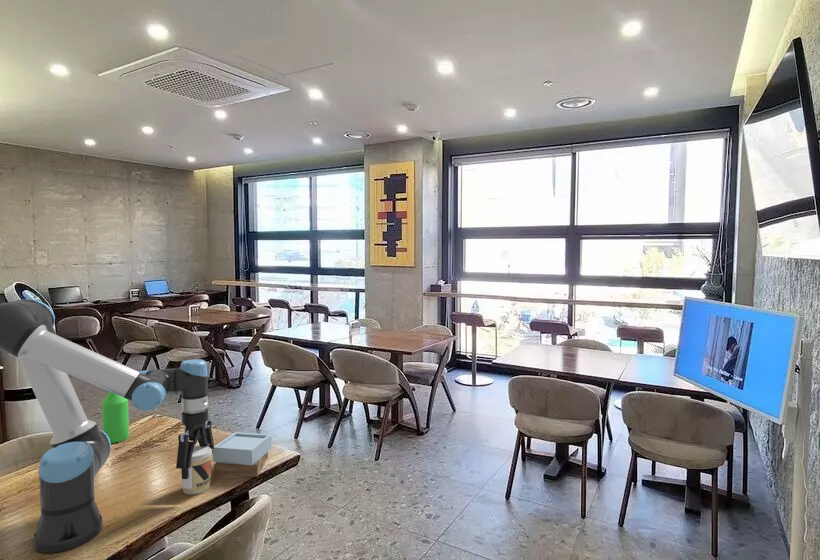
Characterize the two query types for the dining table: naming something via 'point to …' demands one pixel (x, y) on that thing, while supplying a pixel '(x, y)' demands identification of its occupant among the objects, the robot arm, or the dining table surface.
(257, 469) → the block bottom
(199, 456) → the coffee cup
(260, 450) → the block top
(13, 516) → the dining table surface
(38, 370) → the robot arm
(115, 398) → the bottle
